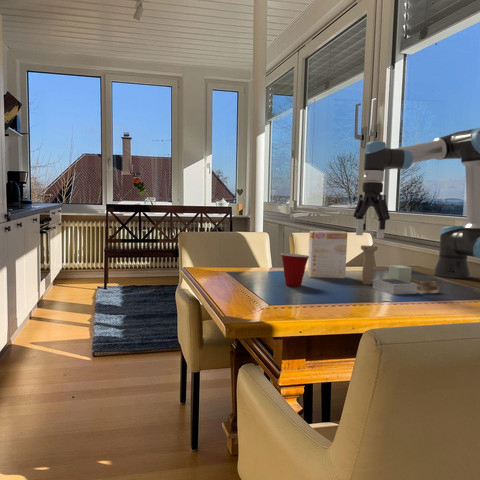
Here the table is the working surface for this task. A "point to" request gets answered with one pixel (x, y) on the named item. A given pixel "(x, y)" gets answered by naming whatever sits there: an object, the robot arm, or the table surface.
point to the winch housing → (395, 286)
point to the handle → (368, 263)
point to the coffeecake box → (327, 254)
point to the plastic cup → (294, 268)
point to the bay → (424, 286)
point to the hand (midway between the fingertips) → (369, 236)
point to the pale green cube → (400, 272)
